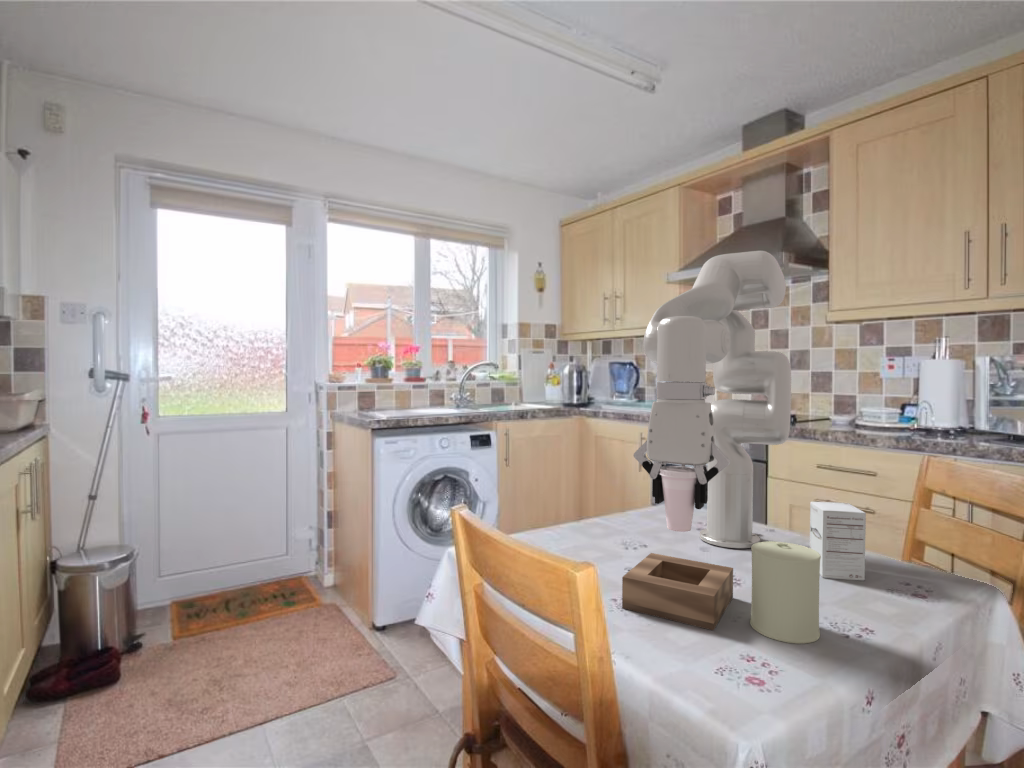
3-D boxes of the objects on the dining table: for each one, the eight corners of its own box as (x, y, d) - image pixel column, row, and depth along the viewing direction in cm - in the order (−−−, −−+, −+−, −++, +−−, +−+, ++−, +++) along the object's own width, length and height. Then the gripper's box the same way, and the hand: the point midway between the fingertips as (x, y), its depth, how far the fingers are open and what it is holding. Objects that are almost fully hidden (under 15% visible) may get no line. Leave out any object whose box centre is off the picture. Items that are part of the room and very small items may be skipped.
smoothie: (702, 535, 85) (703, 445, 85) (659, 532, 87) (660, 443, 86) (697, 524, 92) (698, 440, 91) (657, 522, 93) (658, 439, 93)
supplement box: (808, 564, 108) (809, 500, 108) (849, 567, 106) (850, 502, 106) (821, 578, 101) (822, 509, 100) (866, 581, 99) (867, 511, 99)
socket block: (650, 580, 99) (651, 552, 99) (732, 597, 92) (733, 567, 92) (622, 608, 87) (622, 576, 87) (713, 630, 80) (714, 596, 80)
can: (809, 618, 84) (810, 540, 84) (829, 647, 75) (830, 560, 75) (744, 612, 86) (745, 536, 86) (756, 639, 77) (757, 555, 77)
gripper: (741, 394, 87) (740, 507, 88) (637, 392, 97) (636, 494, 97) (732, 395, 81) (730, 517, 81) (621, 392, 90) (620, 502, 91)
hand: (679, 503), depth 89 cm, fingers closed on smoothie, 5 cm apart
